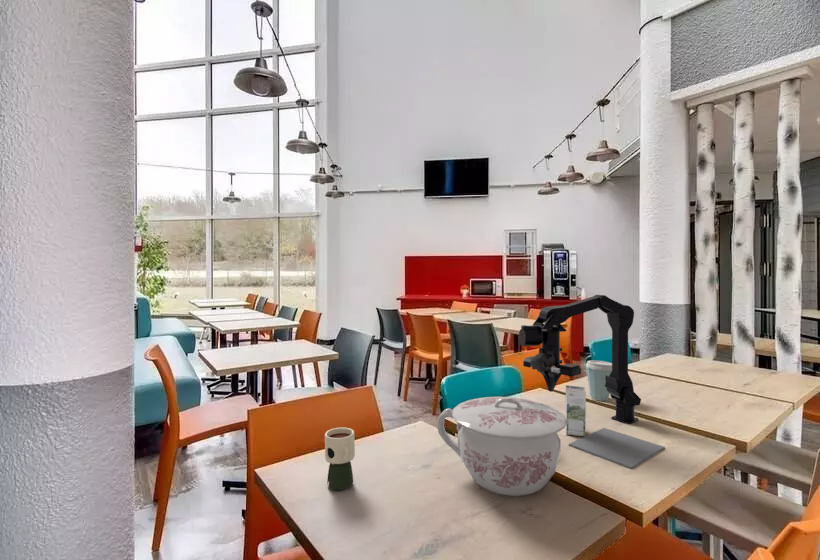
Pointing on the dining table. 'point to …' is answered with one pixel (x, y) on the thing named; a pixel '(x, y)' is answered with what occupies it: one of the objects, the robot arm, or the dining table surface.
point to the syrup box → (575, 410)
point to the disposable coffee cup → (598, 379)
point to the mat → (617, 447)
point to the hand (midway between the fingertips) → (550, 391)
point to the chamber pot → (506, 442)
